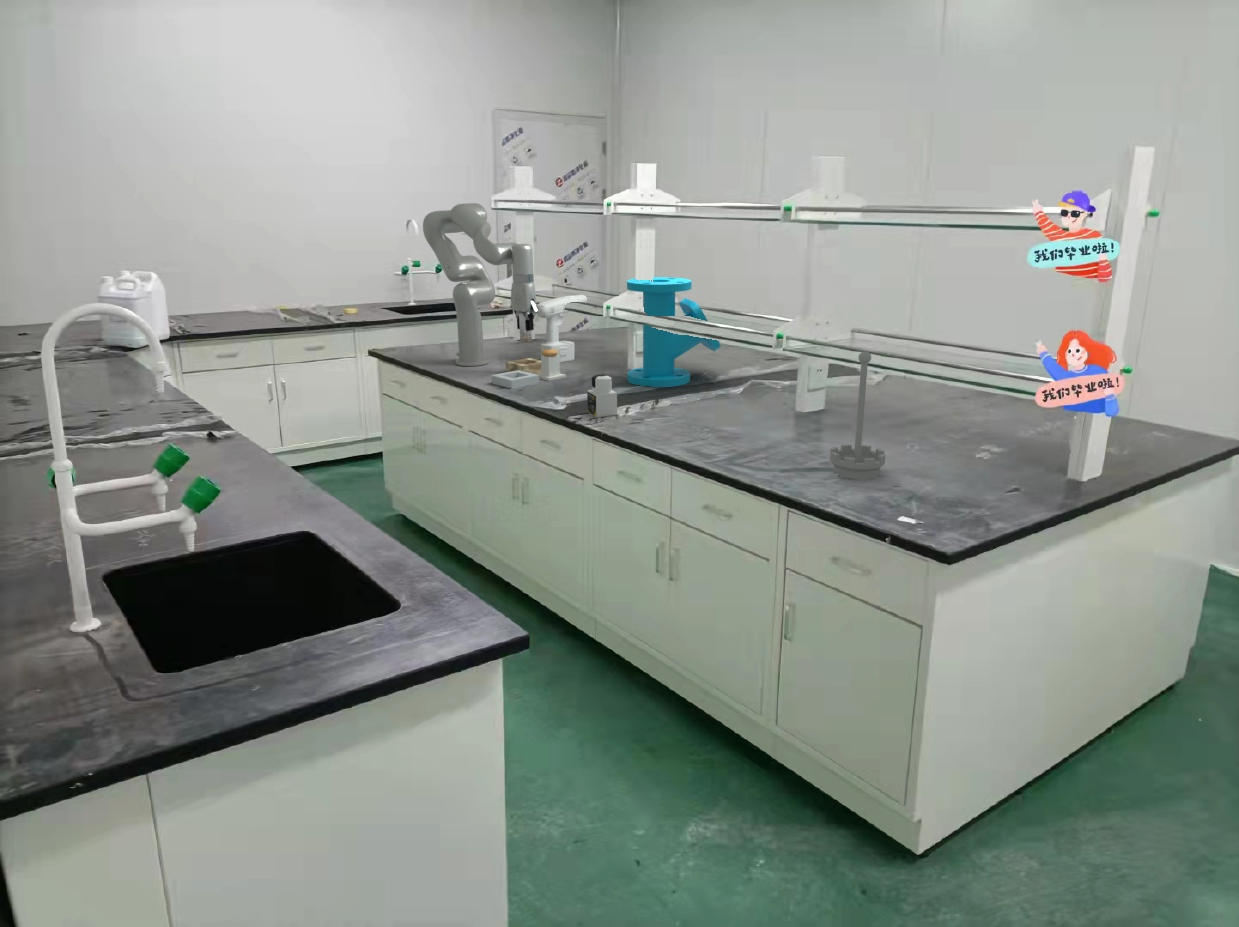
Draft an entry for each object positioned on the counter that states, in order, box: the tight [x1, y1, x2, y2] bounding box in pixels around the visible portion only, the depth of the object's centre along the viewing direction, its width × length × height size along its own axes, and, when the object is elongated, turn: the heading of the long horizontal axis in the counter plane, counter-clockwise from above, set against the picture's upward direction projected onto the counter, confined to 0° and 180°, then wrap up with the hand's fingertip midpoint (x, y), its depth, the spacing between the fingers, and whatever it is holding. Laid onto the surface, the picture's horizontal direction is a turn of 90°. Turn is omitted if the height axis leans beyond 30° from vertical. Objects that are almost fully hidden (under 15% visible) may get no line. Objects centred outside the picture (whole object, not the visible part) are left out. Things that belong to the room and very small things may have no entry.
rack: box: [505, 357, 541, 375], centre depth 333 cm, size 11×11×4 cm
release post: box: [537, 355, 567, 382], centre depth 324 cm, size 8×8×8 cm
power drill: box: [535, 294, 588, 364], centre depth 352 cm, size 8×24×25 cm, turn 132°
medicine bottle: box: [586, 374, 618, 418], centre depth 273 cm, size 7×7×12 cm
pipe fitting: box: [626, 276, 722, 388], centre depth 315 cm, size 22×32×35 cm
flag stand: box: [829, 350, 886, 481], centre depth 214 cm, size 13×13×30 cm
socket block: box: [491, 370, 540, 390], centre depth 315 cm, size 12×12×3 cm
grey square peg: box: [519, 310, 533, 343], centre depth 328 cm, size 4×4×11 cm
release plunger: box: [542, 349, 558, 357], centre depth 323 cm, size 6×6×8 cm
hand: (525, 329), depth 328 cm, fingers closed on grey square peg, 4 cm apart
